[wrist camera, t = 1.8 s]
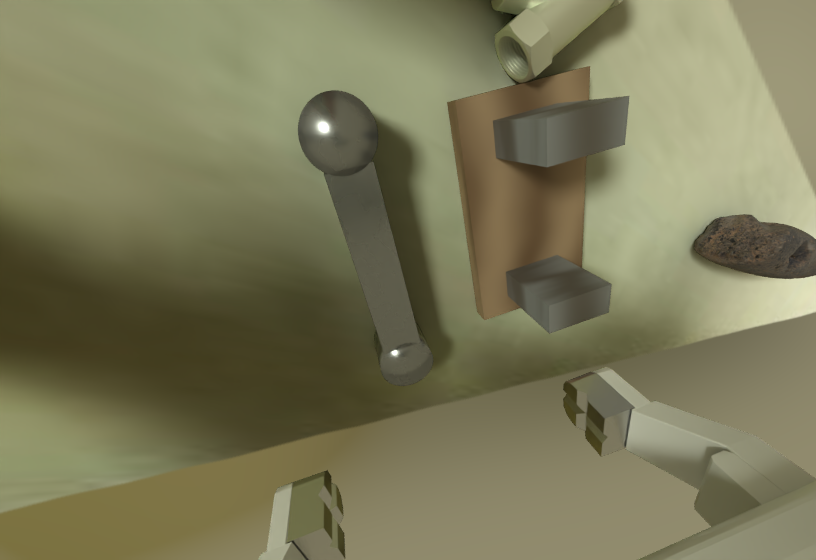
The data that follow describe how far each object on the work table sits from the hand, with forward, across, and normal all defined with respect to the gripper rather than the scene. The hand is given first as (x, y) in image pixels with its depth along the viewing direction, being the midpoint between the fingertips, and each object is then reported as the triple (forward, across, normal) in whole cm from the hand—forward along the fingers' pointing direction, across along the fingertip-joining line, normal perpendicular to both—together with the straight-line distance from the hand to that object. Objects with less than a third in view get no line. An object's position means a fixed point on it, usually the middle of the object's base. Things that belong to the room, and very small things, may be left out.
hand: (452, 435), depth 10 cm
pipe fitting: (+18, -15, -14) cm, 27 cm away
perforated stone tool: (+18, -38, +11) cm, 43 cm away
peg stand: (+18, -13, 0) cm, 22 cm away
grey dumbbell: (+17, 0, 0) cm, 17 cm away
